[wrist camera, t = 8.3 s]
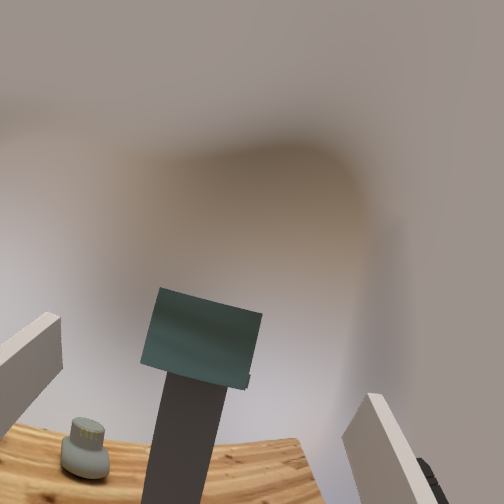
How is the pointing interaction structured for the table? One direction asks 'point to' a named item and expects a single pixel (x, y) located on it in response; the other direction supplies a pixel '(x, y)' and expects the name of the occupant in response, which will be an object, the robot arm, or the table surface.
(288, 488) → the table surface
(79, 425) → the air freshener
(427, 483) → the robot arm
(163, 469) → the stand
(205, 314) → the block
